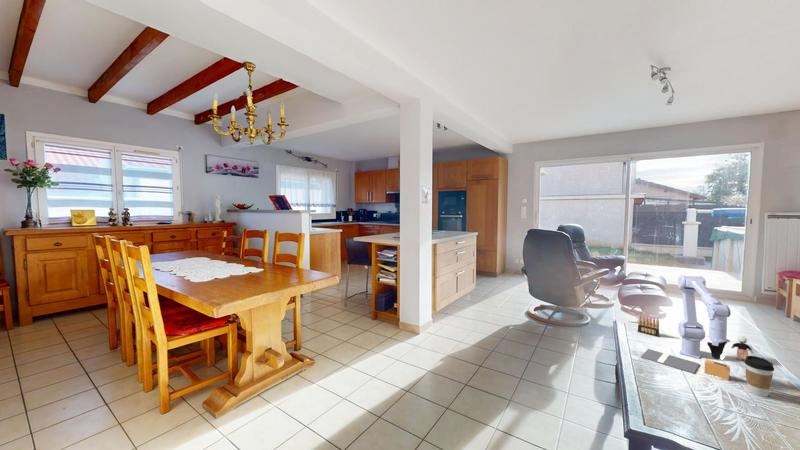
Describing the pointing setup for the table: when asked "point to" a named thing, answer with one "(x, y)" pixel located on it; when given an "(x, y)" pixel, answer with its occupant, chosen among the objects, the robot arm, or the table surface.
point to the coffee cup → (758, 375)
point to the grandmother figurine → (742, 348)
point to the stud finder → (717, 369)
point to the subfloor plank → (671, 361)
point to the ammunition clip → (648, 326)
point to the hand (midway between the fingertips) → (717, 356)
